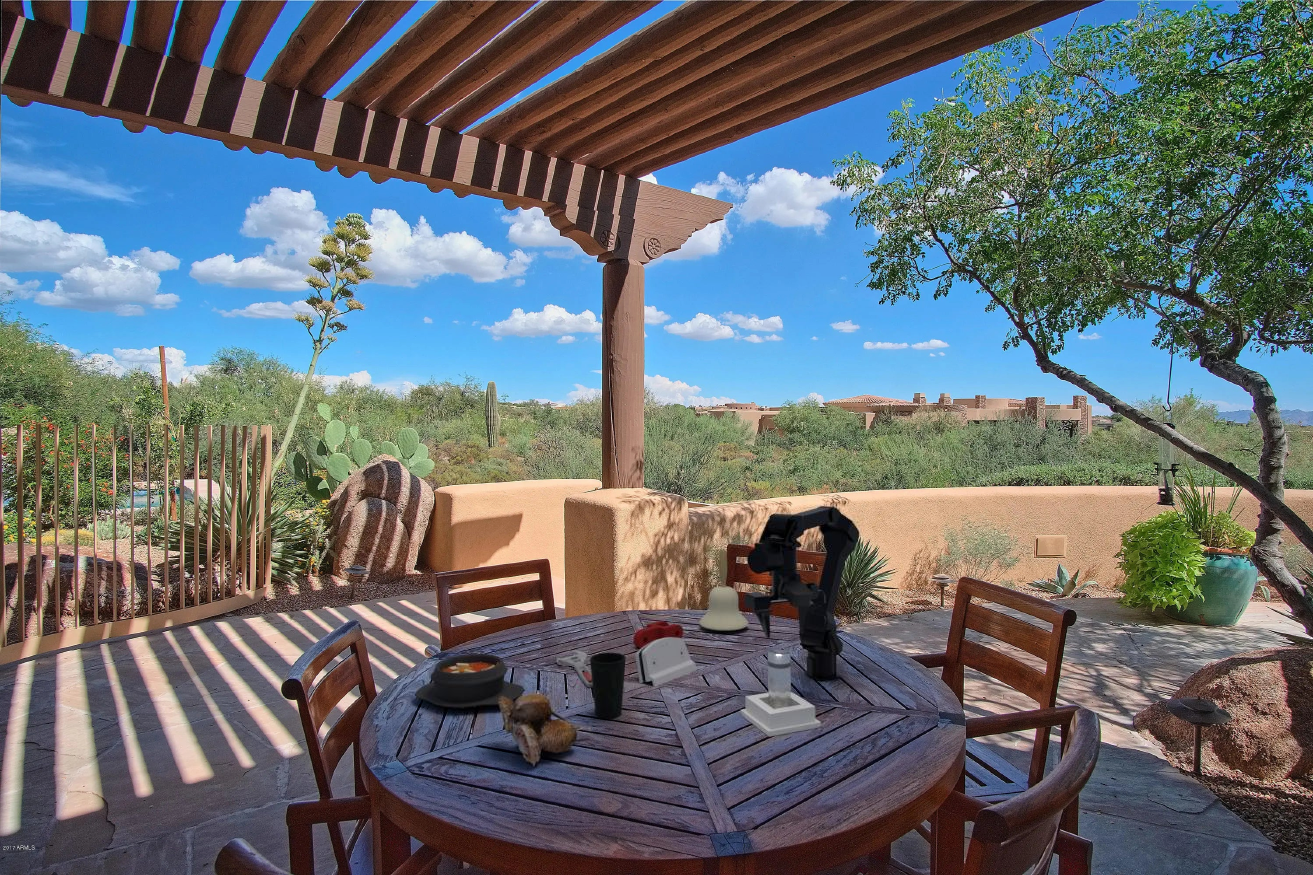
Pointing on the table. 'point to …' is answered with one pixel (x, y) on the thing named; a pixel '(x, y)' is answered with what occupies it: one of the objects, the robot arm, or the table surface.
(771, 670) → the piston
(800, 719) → the white square hollow block
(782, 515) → the robot arm
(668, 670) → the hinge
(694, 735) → the table surface
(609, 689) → the cup
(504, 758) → the table surface
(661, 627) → the mechanical linkage
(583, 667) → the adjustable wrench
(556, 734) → the seed pod
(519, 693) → the casserole
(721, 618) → the handbell
